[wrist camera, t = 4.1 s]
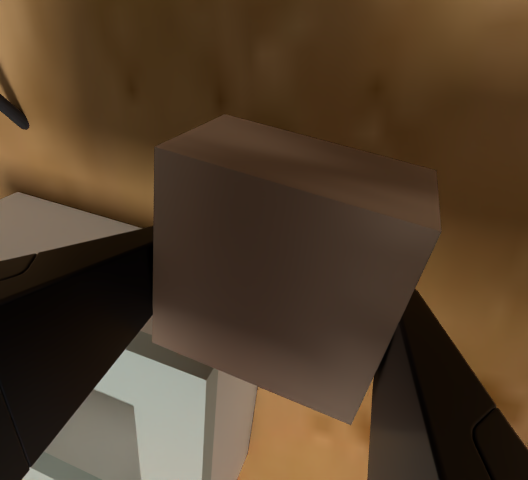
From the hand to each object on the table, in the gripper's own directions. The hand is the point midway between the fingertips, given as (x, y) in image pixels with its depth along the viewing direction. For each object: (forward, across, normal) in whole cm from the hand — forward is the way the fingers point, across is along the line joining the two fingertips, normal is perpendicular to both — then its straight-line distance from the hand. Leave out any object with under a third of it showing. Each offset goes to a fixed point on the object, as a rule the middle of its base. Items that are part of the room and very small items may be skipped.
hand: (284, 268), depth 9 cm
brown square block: (+1, 0, 0) cm, 1 cm away
